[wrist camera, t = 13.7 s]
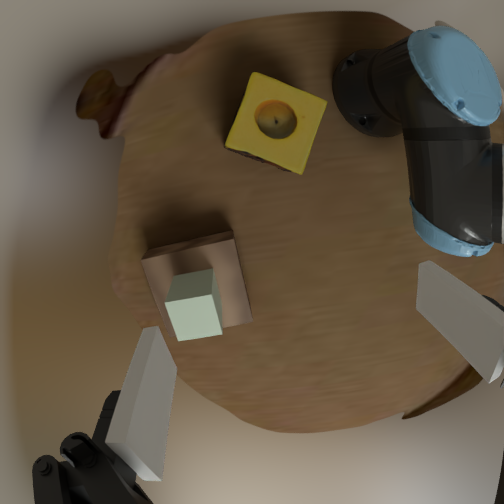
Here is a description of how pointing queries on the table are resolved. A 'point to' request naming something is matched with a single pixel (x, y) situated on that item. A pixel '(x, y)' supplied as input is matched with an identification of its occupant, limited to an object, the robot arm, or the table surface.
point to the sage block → (195, 305)
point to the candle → (275, 123)
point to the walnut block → (197, 259)
